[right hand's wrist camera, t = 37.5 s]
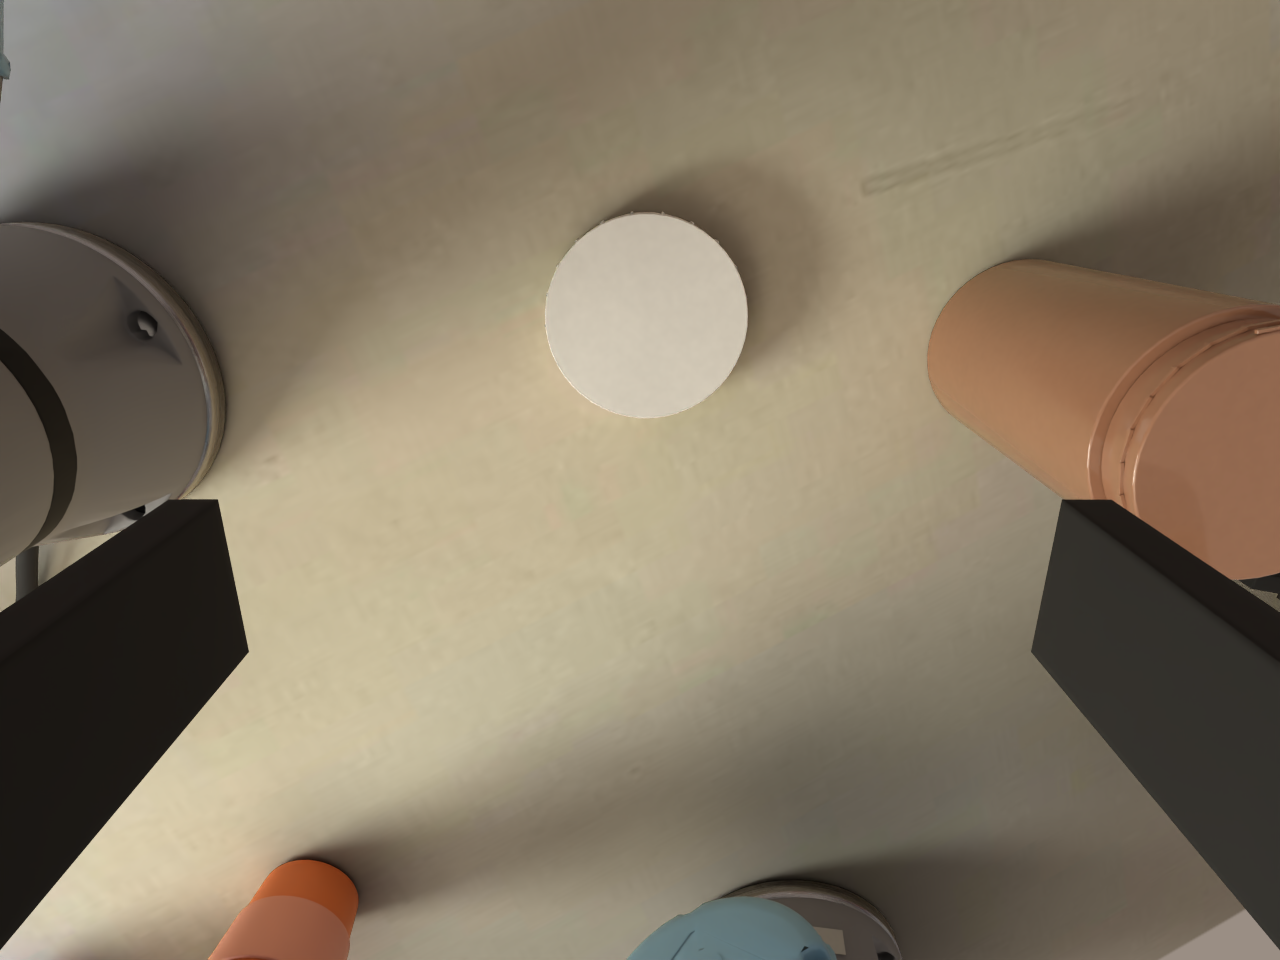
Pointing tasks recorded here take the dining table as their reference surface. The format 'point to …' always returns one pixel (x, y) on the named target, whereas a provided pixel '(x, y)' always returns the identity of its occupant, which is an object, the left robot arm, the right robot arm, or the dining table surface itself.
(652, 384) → the lid
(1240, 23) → the dining table surface
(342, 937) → the cup with straw
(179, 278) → the dining table surface
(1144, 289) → the jar
